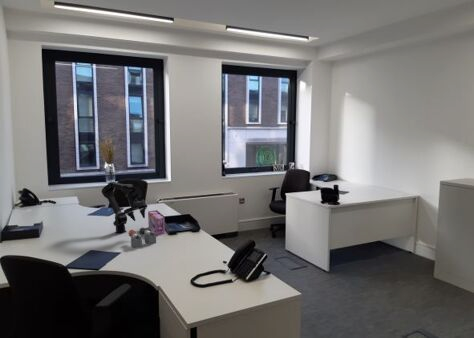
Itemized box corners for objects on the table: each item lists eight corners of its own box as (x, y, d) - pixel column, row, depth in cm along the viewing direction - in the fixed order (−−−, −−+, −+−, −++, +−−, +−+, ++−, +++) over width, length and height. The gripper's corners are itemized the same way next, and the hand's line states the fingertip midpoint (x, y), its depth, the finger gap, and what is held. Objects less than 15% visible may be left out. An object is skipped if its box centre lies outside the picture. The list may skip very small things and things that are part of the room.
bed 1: (131, 246, 255) (130, 235, 254) (139, 244, 258) (139, 234, 257) (133, 248, 250) (133, 237, 249) (142, 246, 254) (141, 236, 253)
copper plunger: (128, 237, 260) (128, 230, 260) (135, 235, 263) (135, 229, 262) (132, 240, 253) (132, 233, 252) (139, 239, 256) (139, 232, 255)
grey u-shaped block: (144, 243, 261) (144, 233, 260) (151, 241, 265) (151, 231, 264) (149, 244, 257) (148, 234, 256) (156, 242, 262) (155, 232, 261)
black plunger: (139, 234, 265) (139, 228, 265) (145, 233, 269) (144, 226, 268) (146, 237, 259) (146, 230, 259) (152, 235, 263) (152, 229, 263)
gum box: (165, 233, 283) (165, 216, 281) (155, 235, 279) (155, 218, 278) (157, 226, 304) (157, 210, 302) (148, 227, 301) (147, 211, 299)
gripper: (129, 198, 263) (136, 219, 261) (148, 194, 279) (155, 213, 277) (120, 203, 269) (127, 223, 267) (139, 199, 285) (146, 217, 283)
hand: (139, 219), depth 273 cm, fingers open, 9 cm apart
